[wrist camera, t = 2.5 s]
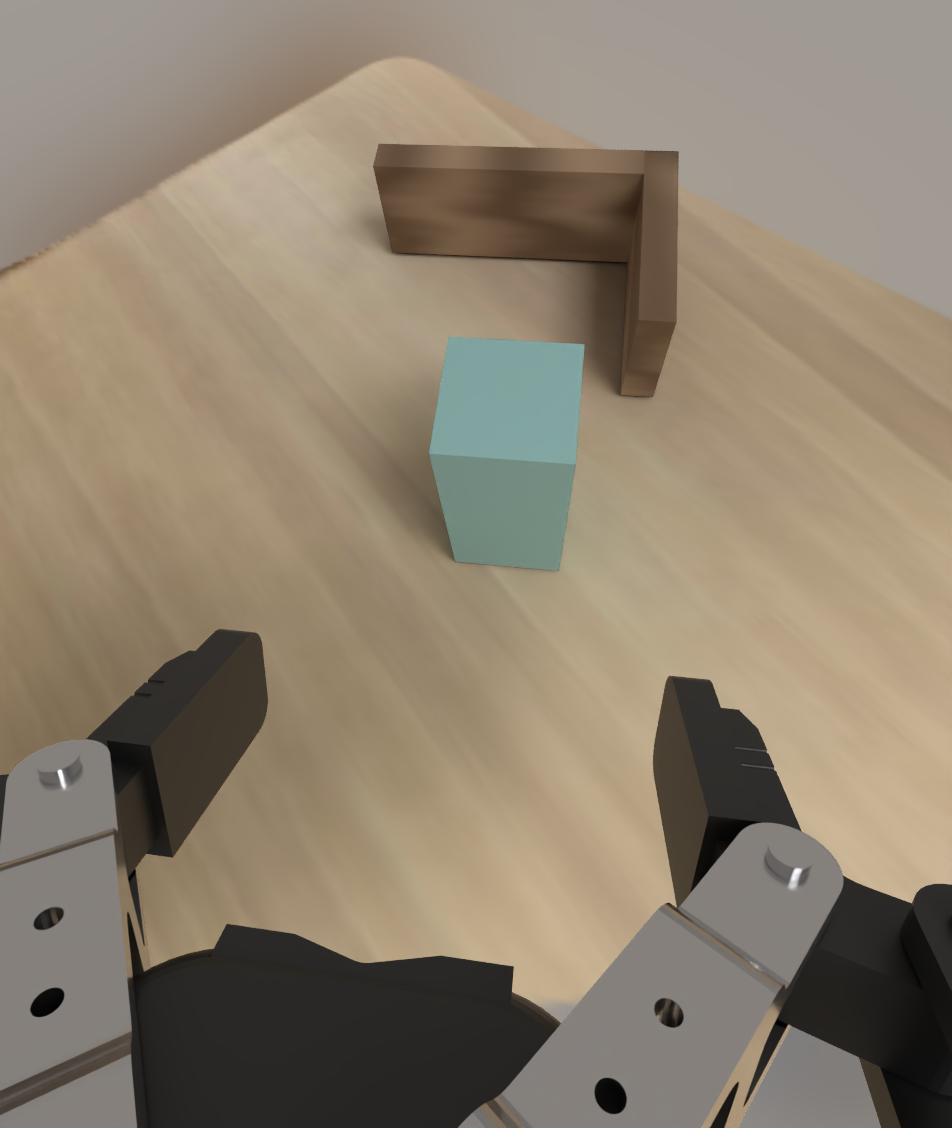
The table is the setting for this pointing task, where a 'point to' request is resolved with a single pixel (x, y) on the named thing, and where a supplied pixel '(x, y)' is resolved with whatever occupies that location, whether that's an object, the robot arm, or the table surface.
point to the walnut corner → (549, 221)
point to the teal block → (507, 448)
